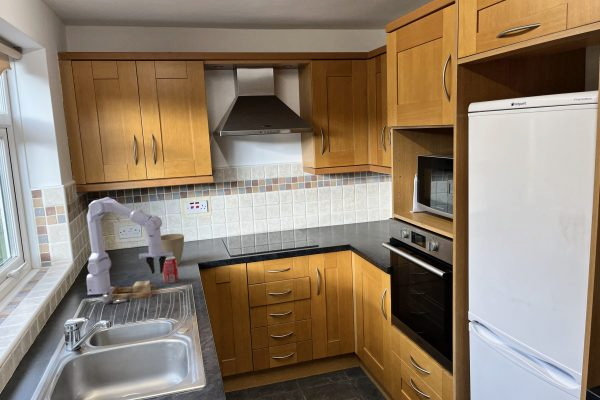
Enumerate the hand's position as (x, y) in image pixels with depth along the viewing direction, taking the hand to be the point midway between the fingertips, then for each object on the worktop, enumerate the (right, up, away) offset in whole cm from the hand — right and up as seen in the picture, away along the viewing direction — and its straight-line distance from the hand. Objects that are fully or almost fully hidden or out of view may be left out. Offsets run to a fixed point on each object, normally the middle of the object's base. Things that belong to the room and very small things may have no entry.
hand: (157, 272), depth 205 cm
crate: (-7, -10, +1) cm, 12 cm away
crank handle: (-13, -11, -9) cm, 19 cm away
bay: (-11, -10, +1) cm, 15 cm away
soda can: (+2, -7, +16) cm, 18 cm away
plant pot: (-6, -3, +44) cm, 45 cm away
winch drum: (-19, -12, -8) cm, 24 cm away
